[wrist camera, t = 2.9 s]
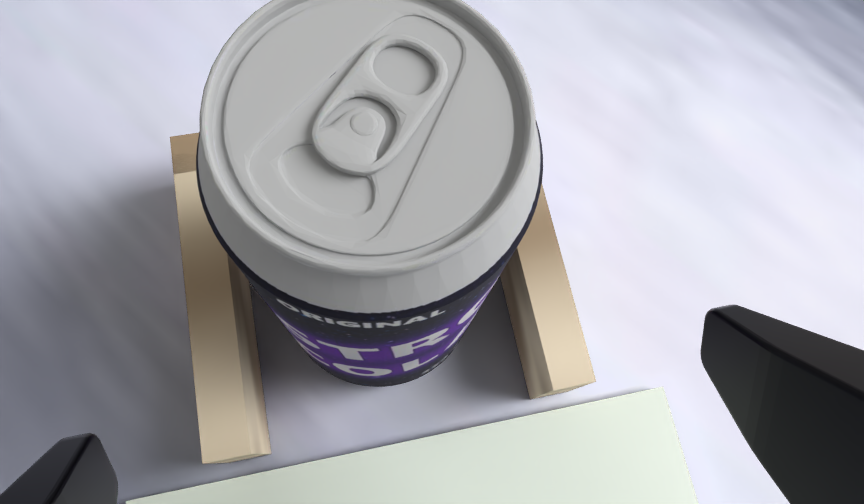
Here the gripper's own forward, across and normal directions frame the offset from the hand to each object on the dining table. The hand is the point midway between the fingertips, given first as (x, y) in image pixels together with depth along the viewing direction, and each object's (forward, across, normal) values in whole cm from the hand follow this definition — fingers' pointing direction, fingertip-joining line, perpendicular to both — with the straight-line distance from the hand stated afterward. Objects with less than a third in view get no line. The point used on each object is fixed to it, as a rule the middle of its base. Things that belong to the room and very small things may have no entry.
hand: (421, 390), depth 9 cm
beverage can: (+10, 0, +5) cm, 12 cm away
